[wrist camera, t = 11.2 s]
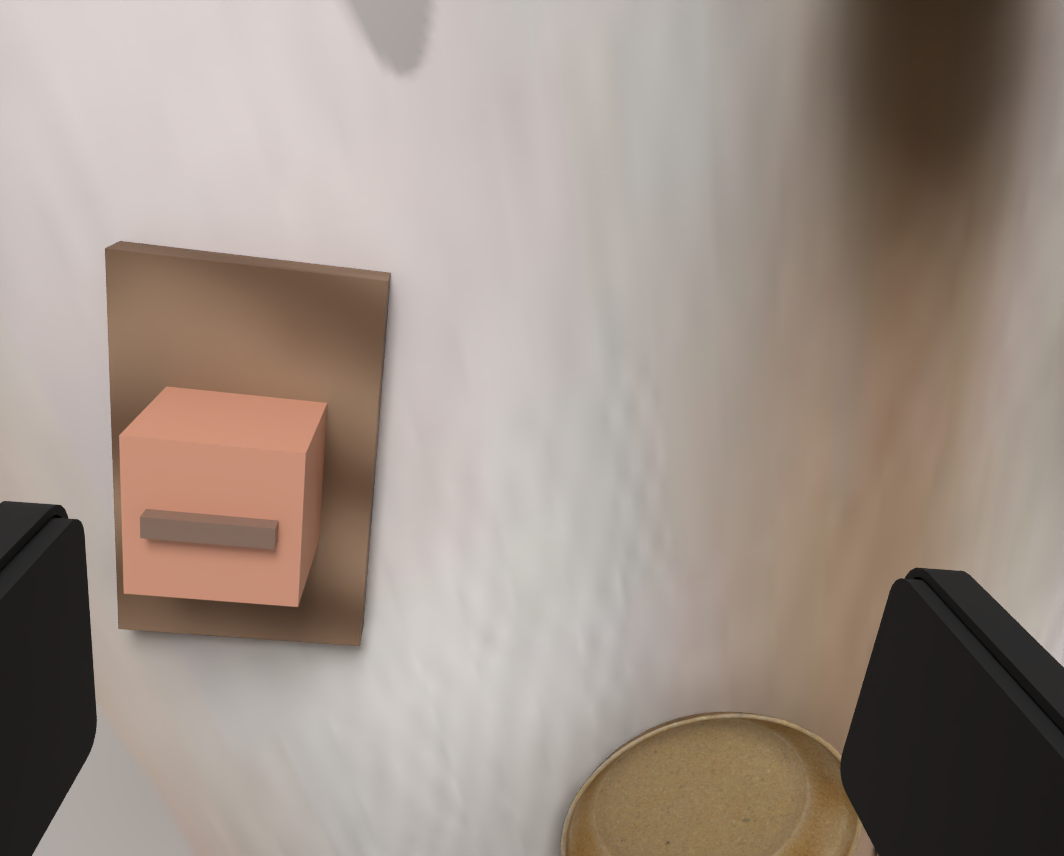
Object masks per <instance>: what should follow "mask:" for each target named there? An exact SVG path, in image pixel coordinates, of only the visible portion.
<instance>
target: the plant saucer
mask: <svg viewBox="0 0 1064 856" xmlns="http://www.w3.org/2000/svg"><path fill="white" fill-rule="evenodd" d="M841 757H842V756H841V755H840V754H839V752H838V751H837V750H835V749H834V748H833V747H832V746H831V745H830V744H829V743H828V742H826V741H825V740H824V739H822V738H821V737H819V736H817V735H816V734H814V733H812V732H810V731H809V730H807V729H805V728H803V727H800V726H798V725H796V724H793V723H790V722H787V721H784V720H781V719H778V718H773V717H769V716H763V715H758V714H751V713H742V712H713V713H703V714H696V715H691V716H686V717H682V718H678V719H675V720H672V721H669V722H666V723H663V724H661V725H658V726H656V727H653V728H651V729H649V730H647V731H645V732H643V733H642V734H640V735H638V736H636V737H635V738H633V739H631V740H630V741H628V742H627V743H625V744H624V745H623V746H621V747H620V748H619V749H617V750H616V751H615V752H614V753H612V754H611V755H610V756H609V757H608V758H607V759H606V760H605V761H604V762H603V763H602V764H601V765H600V766H599V767H598V768H597V769H596V770H595V771H594V772H593V774H592V775H591V776H590V777H589V778H588V780H587V781H586V782H585V783H584V785H583V786H582V787H581V789H580V790H579V792H578V793H577V795H576V796H575V798H574V800H573V802H572V804H571V806H570V808H569V810H568V813H567V816H566V819H565V821H564V825H563V830H562V836H561V856H853V854H854V852H855V850H856V848H857V845H858V843H859V839H860V834H861V829H862V823H861V821H860V819H859V817H858V815H857V813H856V811H855V809H854V807H853V806H852V804H851V802H850V800H849V798H848V796H847V794H846V792H845V790H844V787H843V785H842V780H841V773H840V762H841Z"/></svg>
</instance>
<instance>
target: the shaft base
mask: <svg viewBox="0 0 1064 856" xmlns="http://www.w3.org/2000/svg"><path fill="white" fill-rule="evenodd" d="M105 260H106V289H107V317H108V345H109V373H110V402H111V430H112V458H113V486H114V515H115V543H116V571H117V600H118V628H119V629H128V630H142V631H156V632H170V633H184V634H198V635H212V636H226V637H241V638H255V639H269V640H283V641H297V642H311V643H325V644H339V645H353V646H360V641H361V635H362V630H363V622H364V610H365V597H366V584H367V571H368V558H369V545H370V533H371V520H372V507H373V494H374V481H375V468H376V456H377V443H378V430H379V417H380V404H381V391H382V378H383V366H384V353H385V340H386V327H387V314H388V301H389V289H390V276H391V273H387V272H378V271H370V270H361V269H353V268H344V267H336V266H327V265H319V264H310V263H302V262H293V261H285V260H276V259H267V258H259V257H250V256H242V255H233V254H225V253H216V252H208V251H199V250H191V249H182V248H174V247H165V246H157V245H148V244H140V243H131V242H122V241H120V242H117V243H115V244H113V245H111V246H109V247H107V248H105ZM166 386H167V387H177V388H187V389H196V390H206V391H216V392H226V393H235V394H245V395H255V396H264V397H274V398H284V399H294V400H303V401H313V402H323V403H327V414H326V432H325V449H324V466H323V483H322V500H321V517H320V535H319V542H318V545H317V549H316V552H315V555H314V558H313V561H312V564H311V568H310V571H309V574H308V577H307V580H306V583H305V587H304V590H303V593H302V596H301V599H300V602H299V606H298V607H291V606H278V605H266V604H253V603H240V602H227V601H214V600H201V599H188V598H175V597H162V596H149V595H136V594H124V585H123V551H122V517H121V483H120V448H119V435H120V434H121V433H122V432H123V431H124V430H125V429H126V428H127V427H128V426H129V425H130V424H131V423H132V422H133V421H134V420H135V418H136V417H137V416H138V415H139V414H140V413H141V412H142V411H143V410H144V409H145V408H146V407H147V406H148V405H149V404H150V403H151V402H152V401H153V400H154V399H155V398H156V397H157V396H158V395H159V394H160V393H161V392H162V390H163V389H164V388H165V387H166Z"/></svg>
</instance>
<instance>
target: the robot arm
mask: <svg viewBox="0 0 1064 856" xmlns="http://www.w3.org/2000/svg"><path fill="white" fill-rule="evenodd" d="M96 724H97V716H96V701H95V685H94V670H93V655H92V640H91V625H90V610H89V595H88V580H87V565H86V550H85V535H84V528H83V525H82V523H81V522H80V521H79V520H78V519H68V515H67V513H66V510H65V509H64V508H63V507H62V506H61V505H52V504H38V503H25V502H11V501H3V502H2V503H0V856H32V854H33V853H34V851H35V849H36V847H37V846H38V844H39V842H40V840H41V838H42V837H43V835H44V833H45V831H46V830H47V828H48V826H49V824H50V823H51V820H52V819H53V817H54V816H55V814H56V812H57V810H58V809H59V807H60V805H61V803H62V801H63V800H64V798H65V796H66V794H67V793H68V791H69V789H70V787H71V785H72V784H73V782H74V780H75V779H76V776H77V775H78V773H79V771H80V770H81V768H82V766H83V764H84V763H85V761H86V759H87V757H88V755H89V753H90V751H91V748H92V745H93V742H94V738H95V733H96ZM840 773H841V780H842V785H843V787H844V790H845V792H846V794H847V796H848V798H849V800H850V802H851V804H852V806H853V807H854V809H855V811H856V813H857V815H858V817H859V819H860V821H861V823H862V825H863V826H864V828H865V830H866V832H867V834H868V836H869V838H870V840H871V842H872V843H873V845H874V847H875V849H876V851H877V856H1064V667H1063V666H1061V665H1060V664H1059V663H1058V662H1057V661H1056V660H1055V659H1054V658H1053V657H1052V656H1051V655H1050V654H1049V653H1048V652H1047V651H1046V650H1045V649H1044V648H1043V647H1042V646H1041V645H1040V644H1039V643H1038V642H1037V641H1036V640H1035V639H1034V638H1033V637H1032V636H1031V635H1030V634H1029V633H1028V632H1027V631H1026V630H1025V629H1024V628H1023V627H1022V626H1021V625H1020V624H1019V623H1018V622H1017V621H1016V620H1015V619H1014V618H1013V617H1012V616H1011V615H1010V614H1009V613H1008V612H1007V611H1006V610H1005V609H1004V608H1003V607H1002V606H1001V605H1000V604H999V603H998V602H997V601H996V600H995V599H994V598H993V597H992V596H991V595H990V594H989V593H988V592H987V591H985V590H984V589H983V588H982V587H981V586H980V585H979V584H978V583H977V582H976V581H975V580H974V579H973V578H972V577H971V576H970V575H969V574H967V573H966V572H964V571H954V570H940V569H927V568H915V569H913V570H911V571H910V572H909V573H908V574H907V576H906V577H905V579H901V578H900V579H898V580H896V581H895V582H894V584H893V585H892V587H891V590H890V593H889V596H888V600H887V603H886V606H885V610H884V613H883V617H882V620H881V623H880V627H879V630H878V634H877V637H876V640H875V644H874V647H873V651H872V654H871V657H870V661H869V664H868V668H867V671H866V674H865V678H864V681H863V685H862V688H861V691H860V695H859V698H858V702H857V705H856V708H855V712H854V715H853V719H852V722H851V726H850V729H849V732H848V736H847V739H846V743H845V746H844V749H843V753H842V757H841V762H840Z"/></svg>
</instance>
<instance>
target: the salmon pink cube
mask: <svg viewBox="0 0 1064 856" xmlns="http://www.w3.org/2000/svg"><path fill="white" fill-rule="evenodd" d="M326 414H327V403H323V402H313V401H303V400H294V399H284V398H274V397H264V396H255V395H245V394H235V393H226V392H216V391H206V390H196V389H187V388H177V387H167V386H166V387H165V388H164V389H163V390H162V392H161V393H160V394H159V395H158V396H157V397H156V398H155V399H154V400H153V401H152V402H151V403H150V404H149V405H148V406H147V407H146V408H145V409H144V410H143V411H142V412H141V413H140V414H139V415H138V416H137V417H136V418H135V420H134V421H133V422H132V423H131V424H130V425H129V426H128V427H127V428H126V429H125V430H124V431H123V432H122V433H121V434H120V435H119V448H120V483H121V517H122V551H123V585H124V594H136V595H149V596H162V597H175V598H188V599H201V600H214V601H227V602H240V603H253V604H266V605H278V606H291V607H298V606H299V602H300V599H301V596H302V593H303V590H304V587H305V583H306V580H307V577H308V574H309V571H310V568H311V564H312V561H313V558H314V555H315V552H316V549H317V545H318V542H319V535H320V517H321V500H322V483H323V466H324V449H325V432H326Z"/></svg>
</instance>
